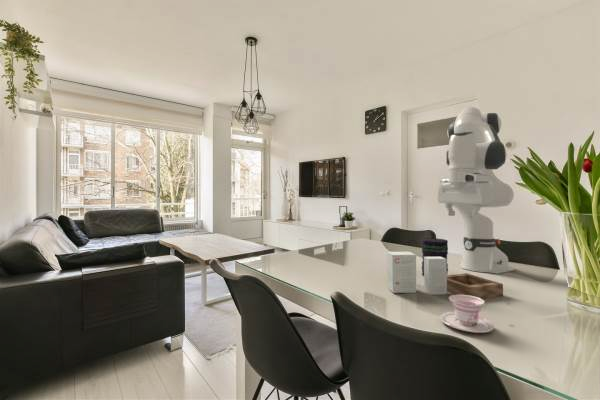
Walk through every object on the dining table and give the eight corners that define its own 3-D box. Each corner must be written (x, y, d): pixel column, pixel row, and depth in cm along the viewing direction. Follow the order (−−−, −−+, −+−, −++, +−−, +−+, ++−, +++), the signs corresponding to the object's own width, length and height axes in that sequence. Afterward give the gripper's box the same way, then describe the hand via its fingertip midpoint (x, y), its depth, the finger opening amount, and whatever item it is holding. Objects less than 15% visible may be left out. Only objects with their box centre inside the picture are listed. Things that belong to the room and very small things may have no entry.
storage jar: (449, 280, 113) (449, 242, 113) (422, 277, 117) (422, 240, 116) (445, 273, 123) (445, 238, 123) (420, 272, 126) (420, 237, 126)
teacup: (472, 337, 67) (472, 311, 67) (429, 318, 78) (429, 295, 77) (504, 328, 71) (505, 303, 71) (460, 311, 82) (460, 289, 82)
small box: (409, 287, 104) (409, 251, 104) (416, 293, 98) (416, 254, 98) (387, 287, 104) (387, 251, 104) (392, 293, 98) (392, 254, 98)
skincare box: (440, 290, 100) (440, 256, 100) (447, 294, 96) (447, 258, 96) (423, 290, 100) (423, 256, 100) (429, 294, 96) (429, 258, 96)
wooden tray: (466, 284, 108) (466, 273, 108) (502, 296, 95) (502, 283, 95) (436, 287, 104) (436, 276, 104) (469, 300, 91) (469, 287, 91)
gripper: (433, 179, 111) (433, 214, 112) (480, 176, 92) (480, 219, 92) (446, 179, 113) (446, 214, 114) (495, 176, 94) (495, 218, 94)
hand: (462, 216), depth 103 cm, fingers open, 8 cm apart
